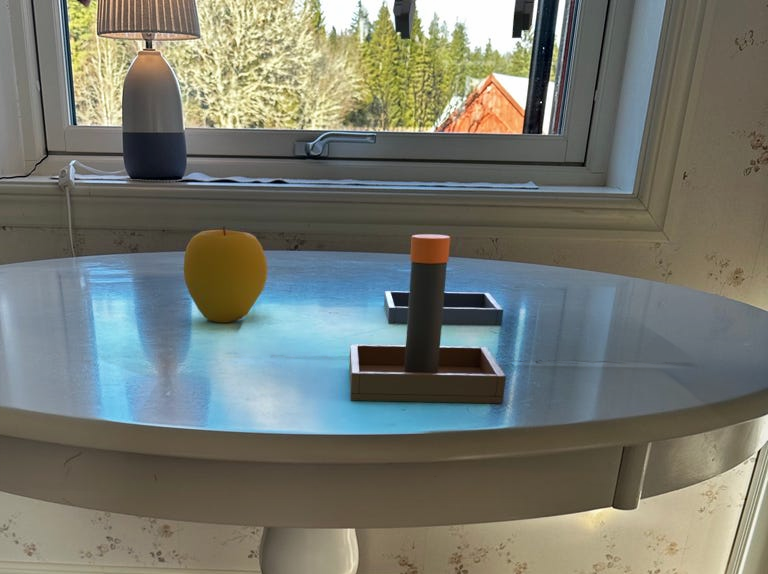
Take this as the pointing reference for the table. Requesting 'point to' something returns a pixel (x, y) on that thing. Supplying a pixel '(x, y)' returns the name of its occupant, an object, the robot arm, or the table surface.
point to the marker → (426, 302)
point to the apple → (224, 273)
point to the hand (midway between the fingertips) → (460, 29)
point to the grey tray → (449, 308)
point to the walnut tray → (425, 376)
